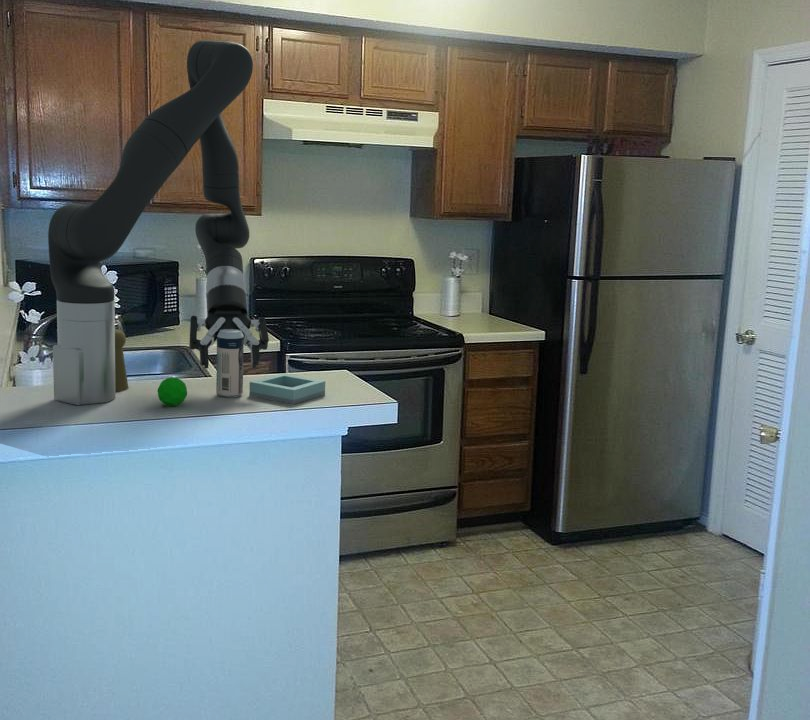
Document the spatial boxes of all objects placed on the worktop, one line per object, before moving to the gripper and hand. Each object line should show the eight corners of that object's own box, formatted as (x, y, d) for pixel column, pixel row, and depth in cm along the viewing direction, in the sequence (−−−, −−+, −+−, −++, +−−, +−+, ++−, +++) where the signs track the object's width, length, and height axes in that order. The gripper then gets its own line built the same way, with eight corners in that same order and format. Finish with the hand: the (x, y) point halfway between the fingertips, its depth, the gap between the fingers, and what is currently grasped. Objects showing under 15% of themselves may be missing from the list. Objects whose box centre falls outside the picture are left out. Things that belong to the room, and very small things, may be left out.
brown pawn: (134, 385, 156) (133, 328, 154) (120, 393, 150) (119, 333, 148) (103, 383, 156) (102, 325, 154) (87, 390, 150) (86, 330, 148)
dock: (293, 404, 149) (294, 390, 148) (249, 395, 153) (249, 381, 153) (324, 394, 157) (325, 381, 157) (282, 386, 162) (282, 373, 161)
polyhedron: (152, 407, 141) (152, 380, 141) (164, 400, 146) (164, 374, 145) (181, 409, 141) (181, 382, 140) (191, 403, 146) (191, 376, 145)
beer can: (247, 396, 152) (248, 332, 150) (223, 399, 150) (223, 333, 147) (235, 391, 156) (236, 328, 154) (212, 393, 153) (212, 329, 151)
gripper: (188, 282, 154) (190, 354, 146) (265, 284, 158) (272, 354, 150) (187, 306, 160) (189, 377, 152) (261, 307, 164) (268, 377, 156)
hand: (230, 366), depth 151 cm, fingers open, 8 cm apart
